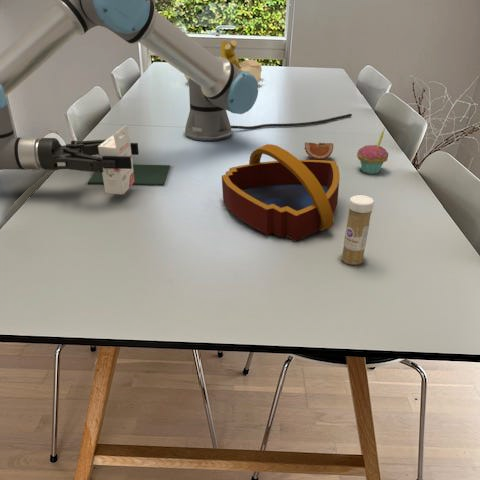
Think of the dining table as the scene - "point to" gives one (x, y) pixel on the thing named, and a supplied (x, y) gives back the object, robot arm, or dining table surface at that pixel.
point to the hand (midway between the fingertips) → (134, 155)
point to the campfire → (229, 54)
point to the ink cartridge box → (117, 178)
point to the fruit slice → (319, 150)
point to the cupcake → (372, 157)
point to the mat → (140, 175)
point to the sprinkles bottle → (357, 229)
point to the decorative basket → (283, 193)
